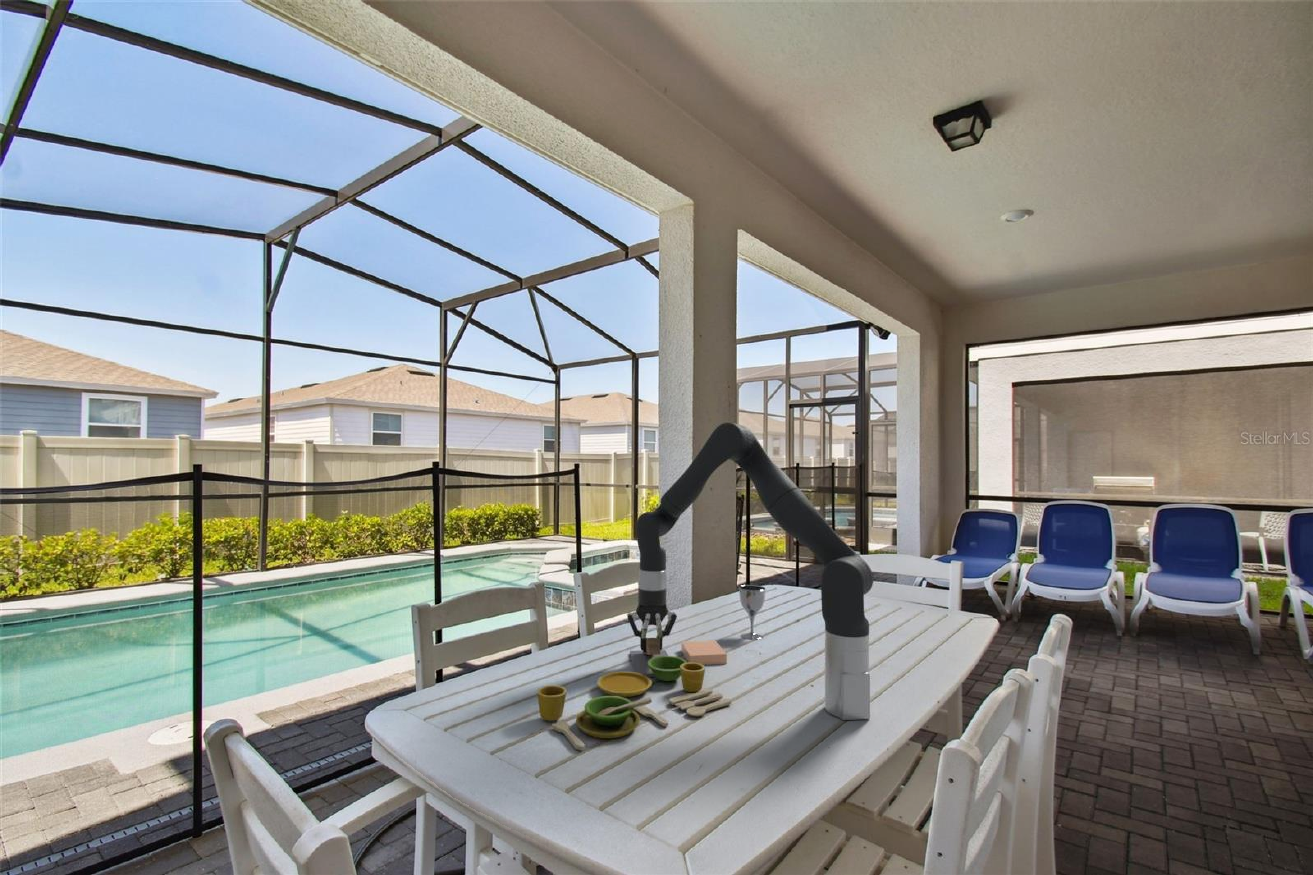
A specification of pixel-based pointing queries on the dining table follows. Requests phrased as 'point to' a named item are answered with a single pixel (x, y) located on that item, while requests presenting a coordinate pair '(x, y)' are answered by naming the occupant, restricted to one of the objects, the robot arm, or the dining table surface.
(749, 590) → the wine glass
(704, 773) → the dining table surface
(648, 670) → the rubber mat
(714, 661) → the terracotta tile
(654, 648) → the walnut stick
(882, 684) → the dining table surface
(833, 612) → the robot arm
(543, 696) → the tableware set
